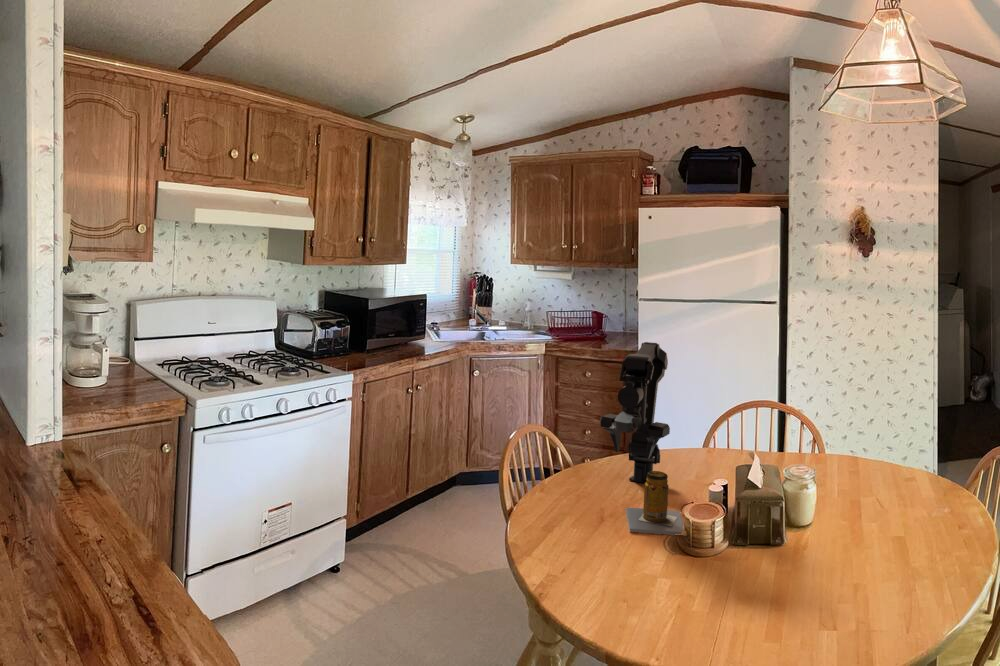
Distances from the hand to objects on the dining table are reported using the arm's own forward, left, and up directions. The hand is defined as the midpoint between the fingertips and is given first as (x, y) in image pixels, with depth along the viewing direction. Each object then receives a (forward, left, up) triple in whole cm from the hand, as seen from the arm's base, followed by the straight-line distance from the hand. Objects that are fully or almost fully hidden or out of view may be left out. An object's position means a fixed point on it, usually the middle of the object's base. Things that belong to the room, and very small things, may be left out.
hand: (632, 455), depth 190 cm
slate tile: (+11, +12, -13) cm, 21 cm away
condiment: (+10, +12, -12) cm, 20 cm away
